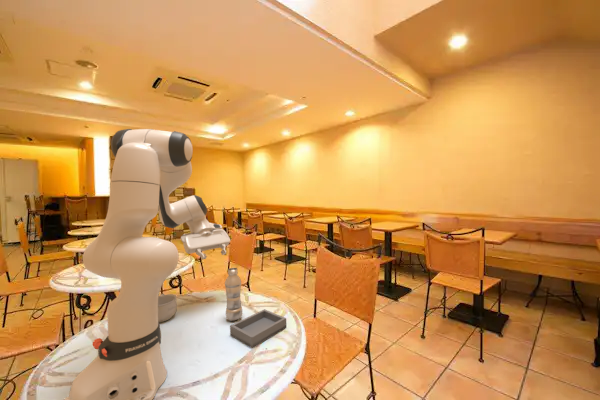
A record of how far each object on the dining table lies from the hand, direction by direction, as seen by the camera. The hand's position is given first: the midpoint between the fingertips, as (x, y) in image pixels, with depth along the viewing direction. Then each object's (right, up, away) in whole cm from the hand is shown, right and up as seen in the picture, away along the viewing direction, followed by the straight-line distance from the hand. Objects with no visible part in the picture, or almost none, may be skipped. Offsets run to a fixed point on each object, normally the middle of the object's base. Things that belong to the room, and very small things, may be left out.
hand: (214, 256), depth 109 cm
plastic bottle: (+10, -23, -8) cm, 27 cm away
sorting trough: (+22, -23, -18) cm, 36 cm away
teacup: (-20, -24, -5) cm, 31 cm away
